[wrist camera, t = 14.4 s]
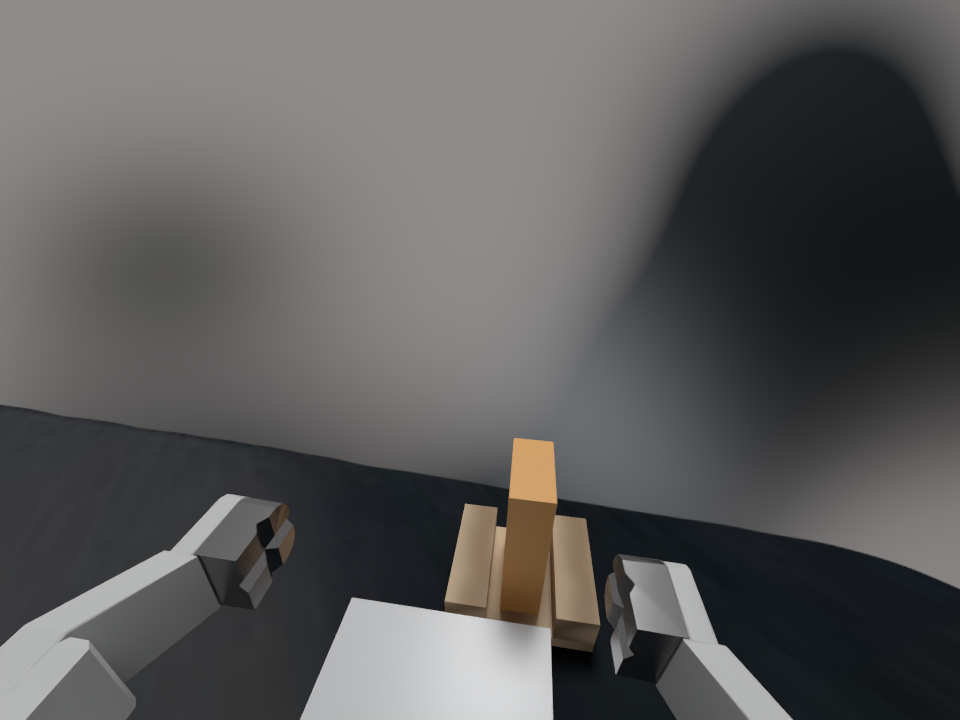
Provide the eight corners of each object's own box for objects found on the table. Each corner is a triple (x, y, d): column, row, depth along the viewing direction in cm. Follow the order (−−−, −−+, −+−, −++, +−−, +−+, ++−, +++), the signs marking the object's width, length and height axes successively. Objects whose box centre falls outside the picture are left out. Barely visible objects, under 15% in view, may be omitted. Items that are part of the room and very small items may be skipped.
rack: (445, 628, 29) (444, 601, 28) (465, 529, 37) (465, 503, 36) (592, 652, 28) (600, 625, 27) (579, 544, 36) (585, 518, 34)
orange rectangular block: (499, 609, 30) (509, 497, 24) (505, 541, 35) (514, 437, 29) (538, 615, 29) (556, 503, 24) (538, 546, 35) (553, 442, 29)
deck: (281, 831, 20) (263, 804, 18) (358, 629, 29) (352, 597, 27) (547, 892, 19) (557, 869, 17) (544, 659, 28) (550, 628, 26)
